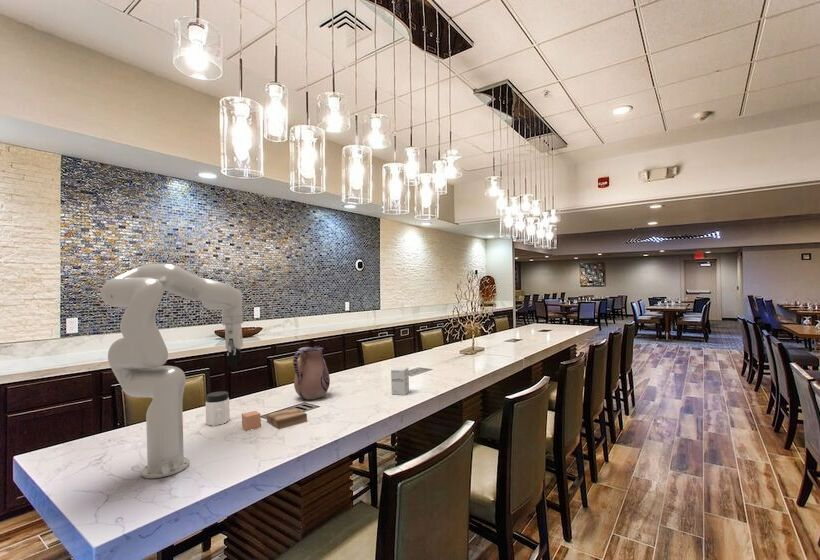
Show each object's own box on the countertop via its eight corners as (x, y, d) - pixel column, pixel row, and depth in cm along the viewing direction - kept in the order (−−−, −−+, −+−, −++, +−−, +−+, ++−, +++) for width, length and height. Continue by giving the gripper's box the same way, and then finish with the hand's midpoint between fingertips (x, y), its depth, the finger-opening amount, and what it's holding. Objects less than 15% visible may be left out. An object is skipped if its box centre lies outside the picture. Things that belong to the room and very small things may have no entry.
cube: (260, 427, 154) (260, 413, 155) (246, 431, 151) (246, 416, 151) (256, 424, 159) (255, 410, 159) (242, 427, 155) (241, 413, 155)
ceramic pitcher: (336, 393, 202) (334, 345, 203) (315, 405, 182) (314, 351, 182) (306, 392, 207) (304, 345, 207) (283, 403, 186) (281, 351, 187)
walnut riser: (307, 421, 160) (306, 413, 160) (278, 428, 152) (278, 420, 152) (294, 414, 169) (294, 407, 169) (267, 421, 161) (266, 414, 161)
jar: (207, 427, 157) (206, 397, 157) (205, 422, 163) (204, 393, 164) (231, 422, 161) (230, 393, 162) (228, 417, 168) (227, 390, 169)
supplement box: (391, 395, 195) (390, 369, 195) (396, 391, 202) (395, 366, 202) (405, 395, 192) (404, 370, 193) (409, 391, 200) (408, 367, 200)
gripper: (238, 321, 148) (240, 366, 148) (246, 317, 164) (248, 358, 165) (217, 323, 146) (219, 368, 146) (227, 319, 163) (228, 359, 163)
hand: (234, 363), depth 155 cm, fingers open, 9 cm apart
